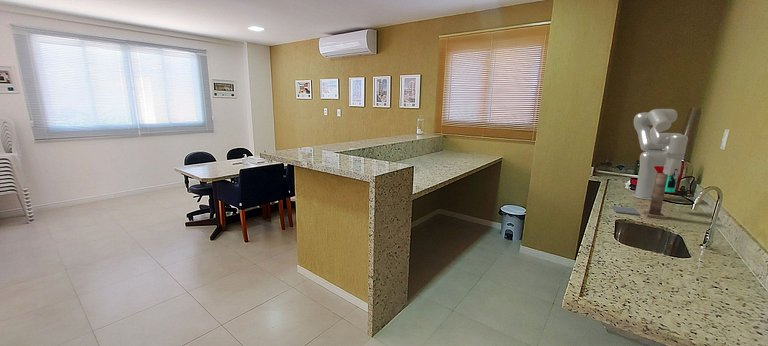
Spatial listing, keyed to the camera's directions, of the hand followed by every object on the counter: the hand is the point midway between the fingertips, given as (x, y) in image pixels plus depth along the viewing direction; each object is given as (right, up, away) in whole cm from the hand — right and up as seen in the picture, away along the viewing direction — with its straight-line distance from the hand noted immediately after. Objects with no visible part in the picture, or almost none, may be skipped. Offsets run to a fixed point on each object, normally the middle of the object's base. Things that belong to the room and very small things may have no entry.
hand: (669, 186), depth 186 cm
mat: (-24, -15, +3) cm, 29 cm away
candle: (0, -3, +1) cm, 3 cm away
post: (-14, -17, -5) cm, 23 cm away
